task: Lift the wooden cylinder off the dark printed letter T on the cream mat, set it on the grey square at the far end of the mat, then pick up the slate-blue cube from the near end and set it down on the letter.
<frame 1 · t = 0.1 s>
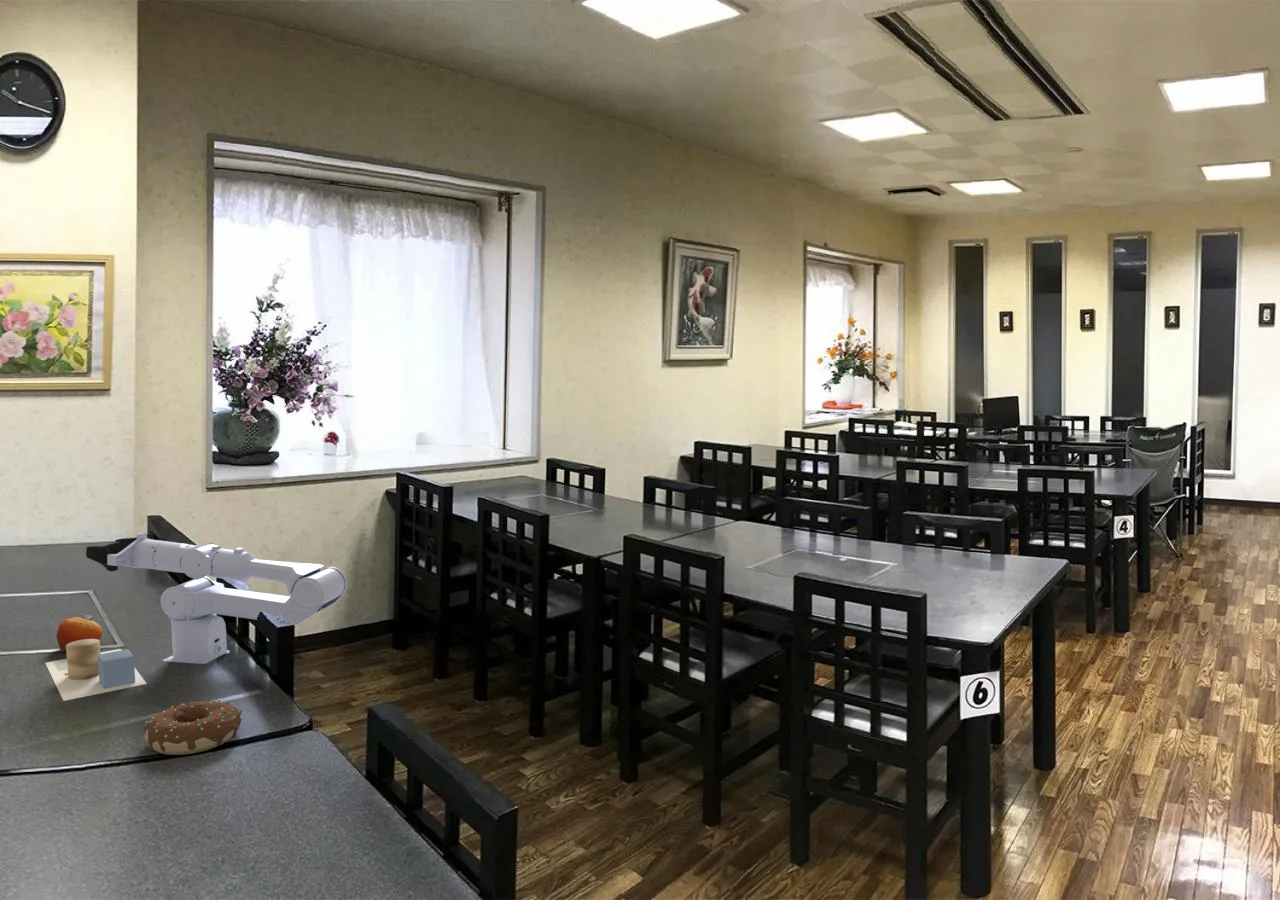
hand: (102, 548, 184), 22 cm above the table, tool horizontal, fingers open, 7 cm apart
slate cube: (117, 681, 168), point 1 cm above the table, touching letter mat
letter mat: (85, 677, 172), on the table
donut: (196, 742, 145), on the table
fruit: (80, 651, 188), on the table
wooden cylinder: (85, 674, 172), point 1 cm above the table, touching letter mat
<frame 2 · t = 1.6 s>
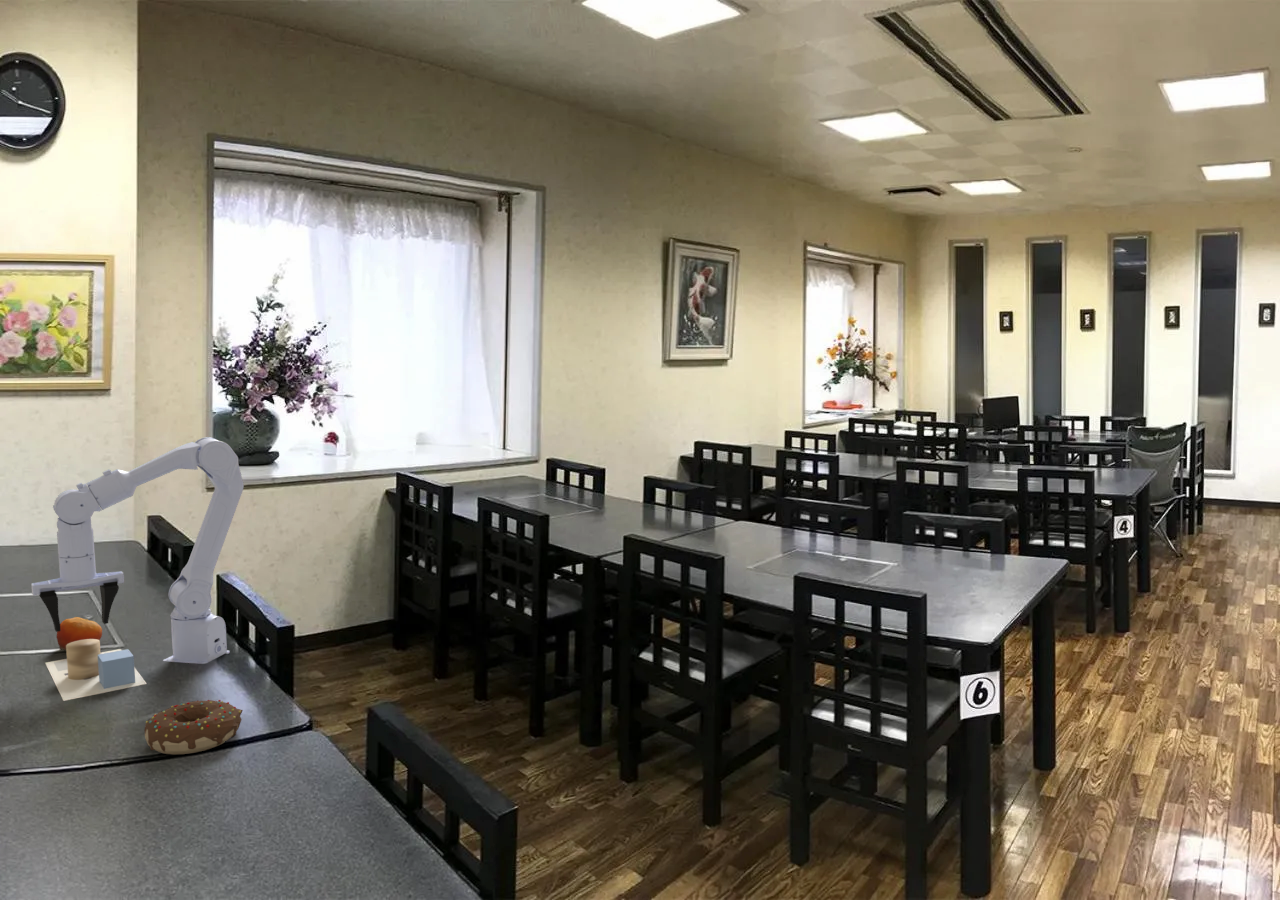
hand: (81, 626, 171), 10 cm above the table, tool pointing down, fingers open, 7 cm apart
nothing on the table moved.
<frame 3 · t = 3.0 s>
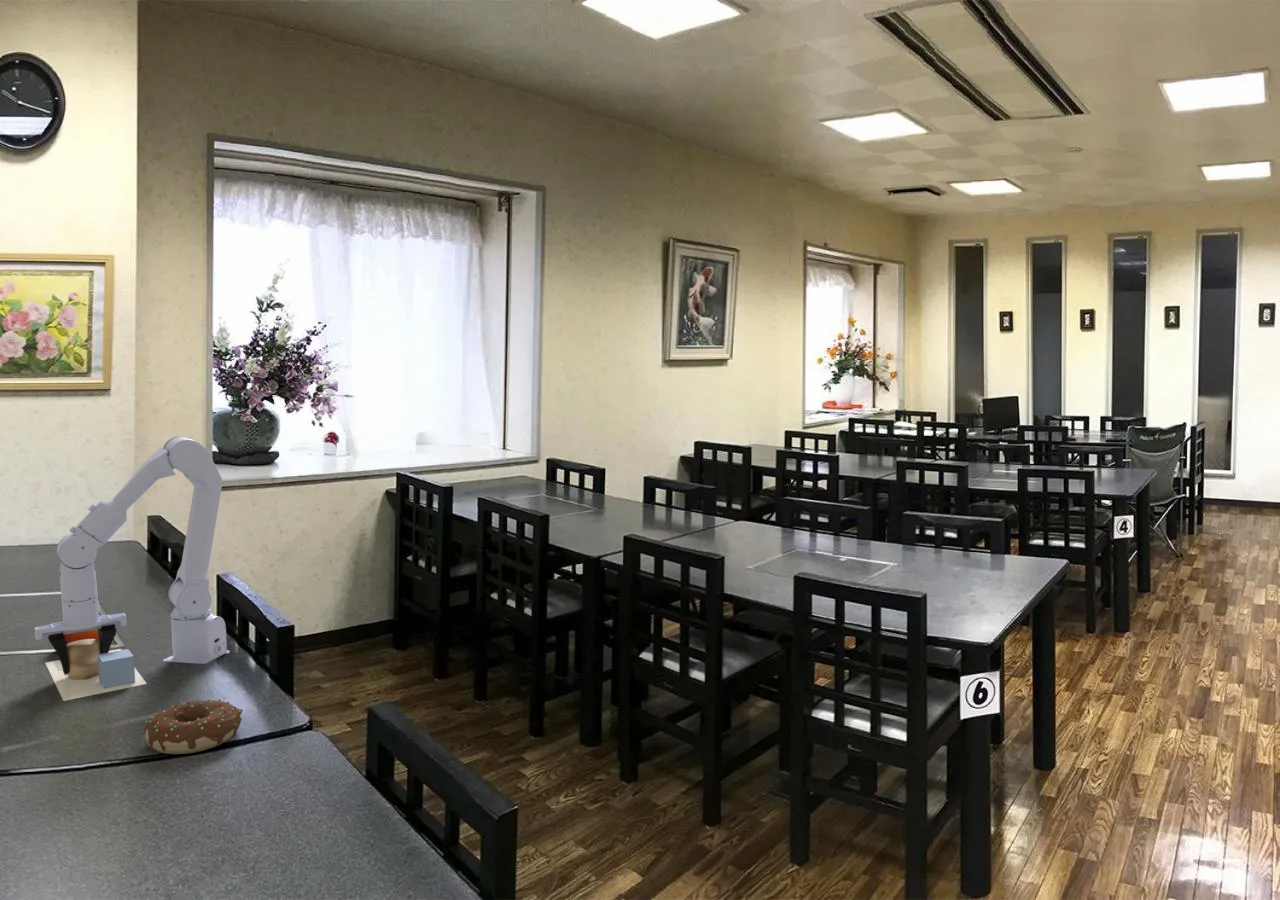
hand: (84, 668, 172), 2 cm above the table, tool pointing down, fingers closed on wooden cylinder, 5 cm apart
wooden cylinder: (85, 674, 172), point 1 cm above the table, touching gripper, letter mat
everything else where it was.
when the fingers open (3 cm above the table, at t = 6.4 s): wooden cylinder drops 1 cm, resting on letter mat.
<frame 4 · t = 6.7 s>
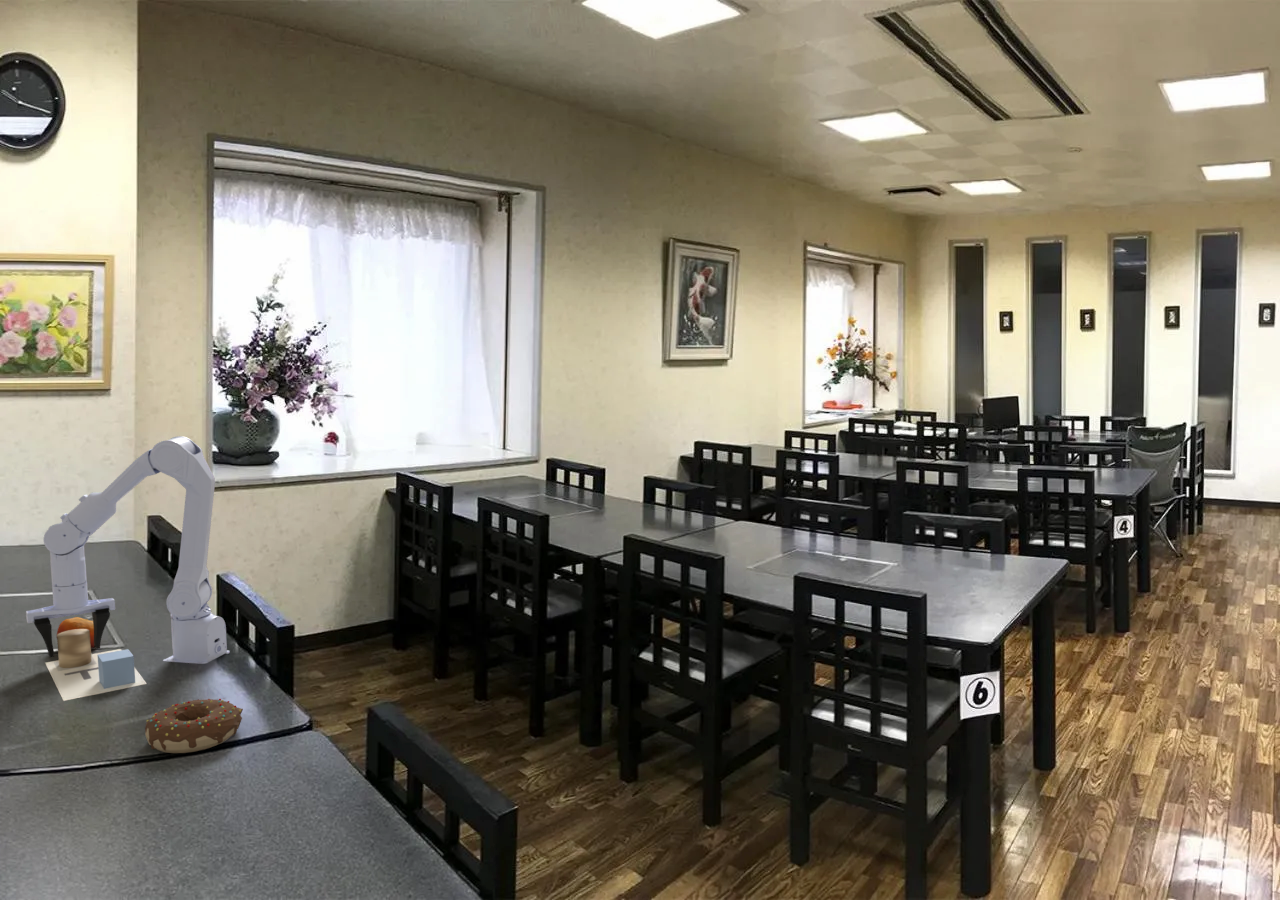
hand: (74, 651, 178), 3 cm above the table, tool pointing down, fingers open, 7 cm apart
wooden cylinder: (75, 663, 178), point 1 cm above the table, touching letter mat
everything else where it was.
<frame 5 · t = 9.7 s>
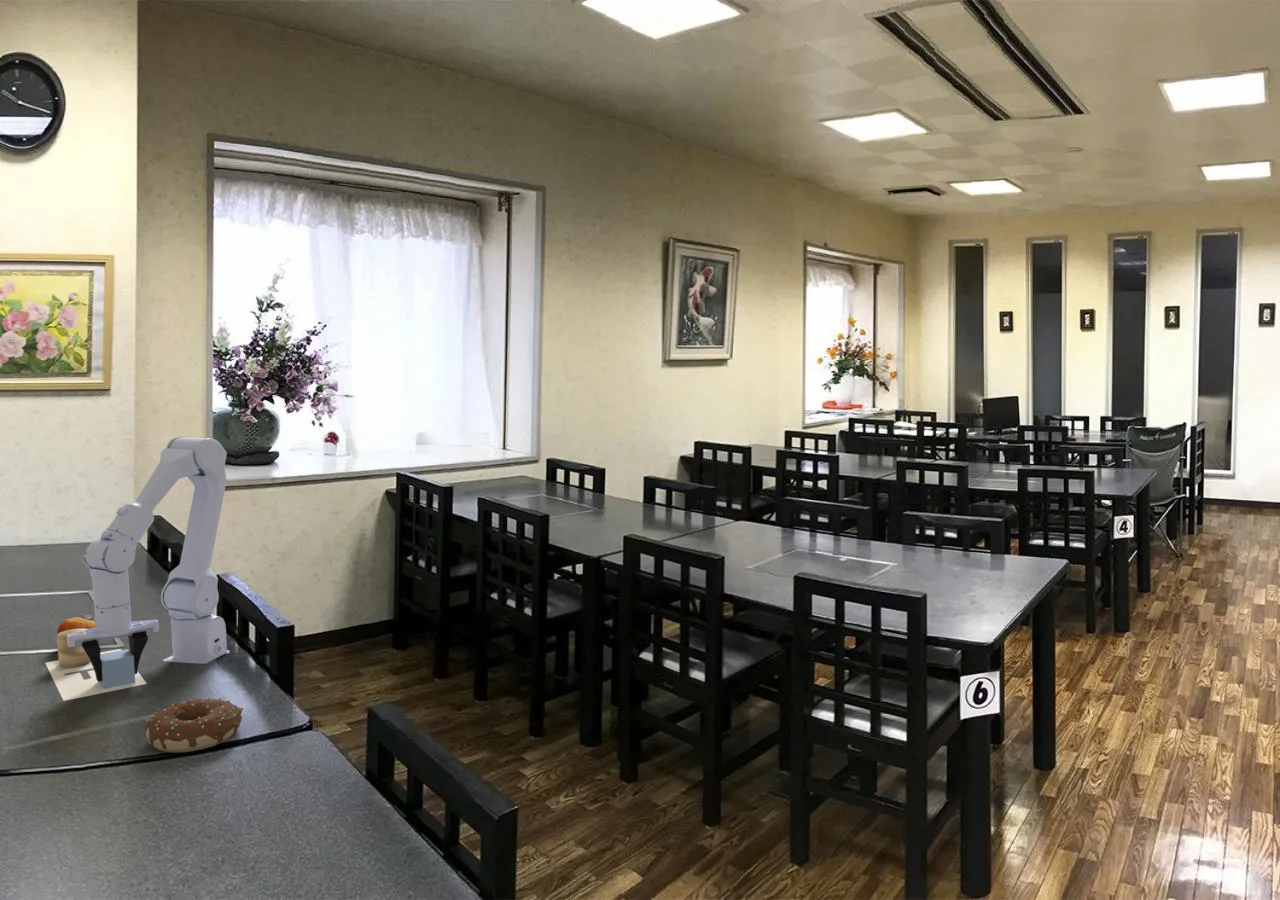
hand: (116, 676, 168), 2 cm above the table, tool pointing down, fingers closed on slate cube, 5 cm apart
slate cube: (117, 681, 168), point 1 cm above the table, touching gripper, letter mat
everything else where it was.
when the fingers open (3 cm above the table, at t = 12.9 s): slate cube drops 1 cm, resting on letter mat.
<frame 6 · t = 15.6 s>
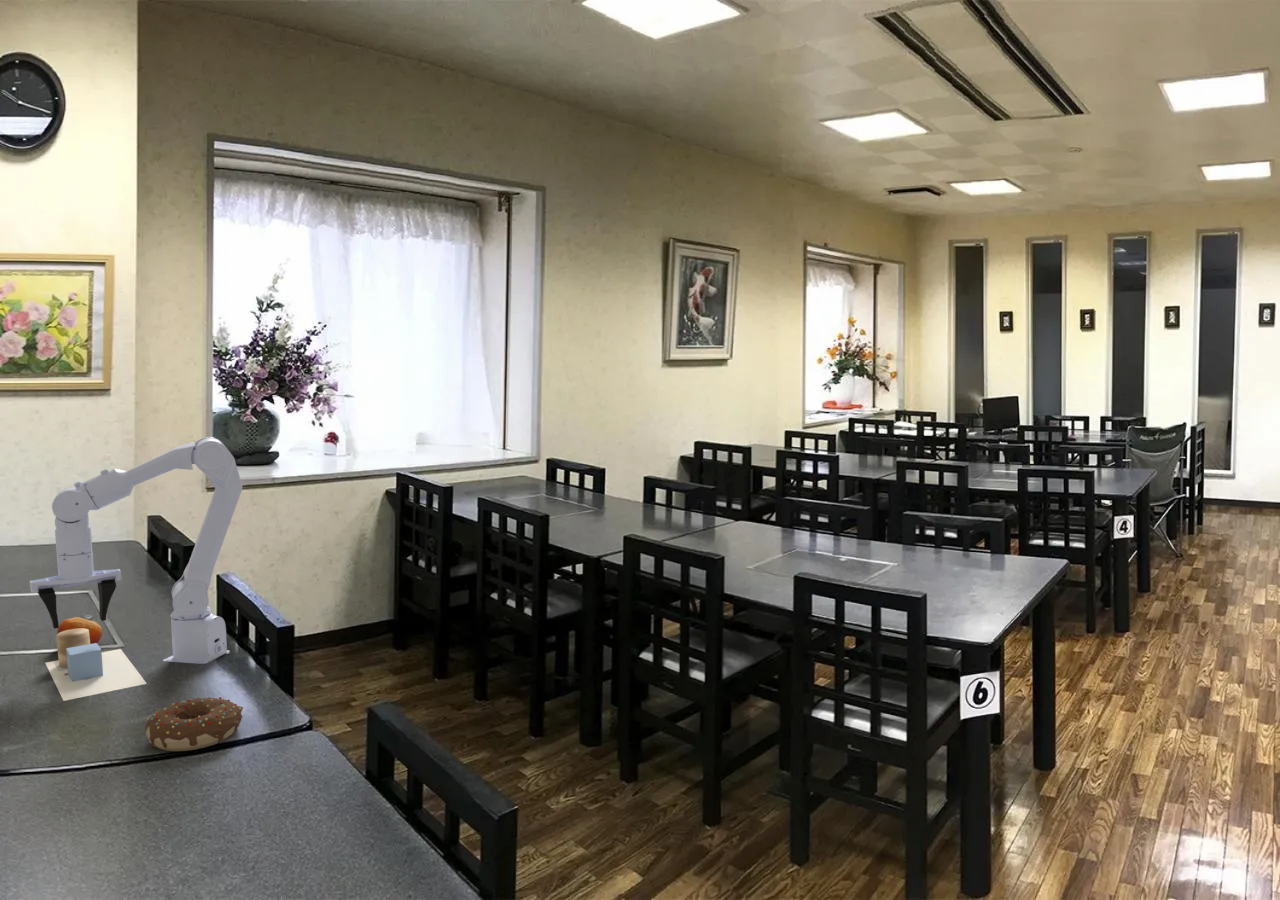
hand: (79, 623, 173), 10 cm above the table, tool pointing down, fingers open, 7 cm apart
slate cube: (85, 674, 172), point 1 cm above the table, touching letter mat
at the end: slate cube 0.2 cm from the letter mat (horizontally); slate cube touching letter mat; wooden cylinder moved 8.4 cm from its start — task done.
